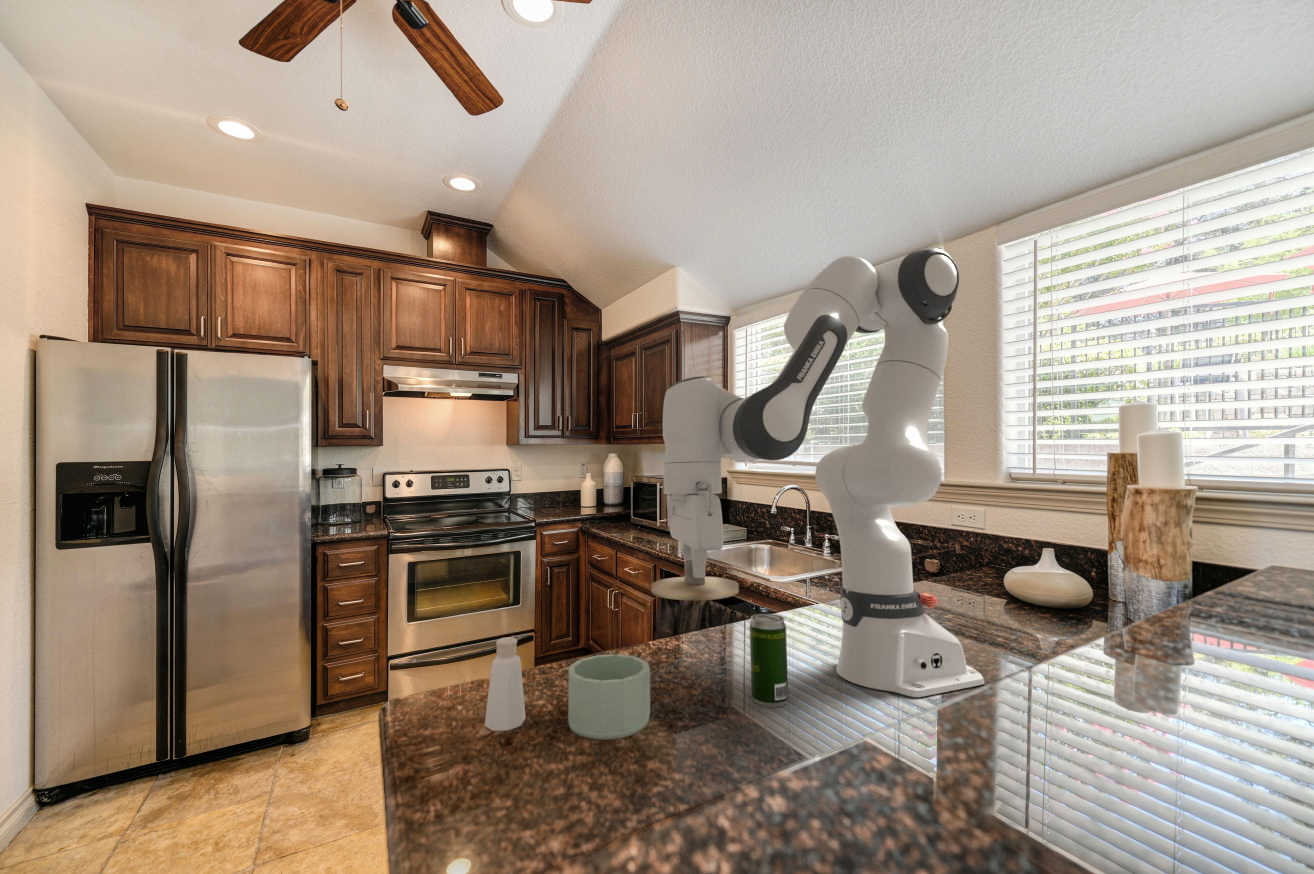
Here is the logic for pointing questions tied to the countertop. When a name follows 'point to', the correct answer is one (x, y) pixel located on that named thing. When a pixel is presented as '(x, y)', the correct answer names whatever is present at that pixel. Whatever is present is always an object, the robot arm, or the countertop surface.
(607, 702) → the pale green pot
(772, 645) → the beer can
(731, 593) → the lid
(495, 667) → the pepper shaker
